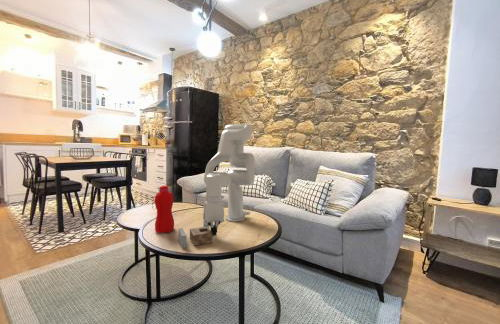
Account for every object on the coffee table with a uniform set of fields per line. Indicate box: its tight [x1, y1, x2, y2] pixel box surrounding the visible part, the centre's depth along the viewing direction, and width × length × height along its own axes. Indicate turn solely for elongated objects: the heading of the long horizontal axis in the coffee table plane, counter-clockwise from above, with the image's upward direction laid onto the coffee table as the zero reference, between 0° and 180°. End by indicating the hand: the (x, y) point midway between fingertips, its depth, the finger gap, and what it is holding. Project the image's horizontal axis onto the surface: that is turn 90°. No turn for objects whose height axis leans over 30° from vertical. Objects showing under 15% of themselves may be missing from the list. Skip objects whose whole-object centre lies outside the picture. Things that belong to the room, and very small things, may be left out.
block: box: [189, 226, 213, 246], centre depth 116 cm, size 9×9×5 cm
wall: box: [177, 227, 188, 249], centre depth 112 cm, size 2×10×6 cm, turn 26°
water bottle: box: [151, 185, 175, 234], centre depth 128 cm, size 9×11×25 cm
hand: (213, 234), depth 119 cm, fingers closed
